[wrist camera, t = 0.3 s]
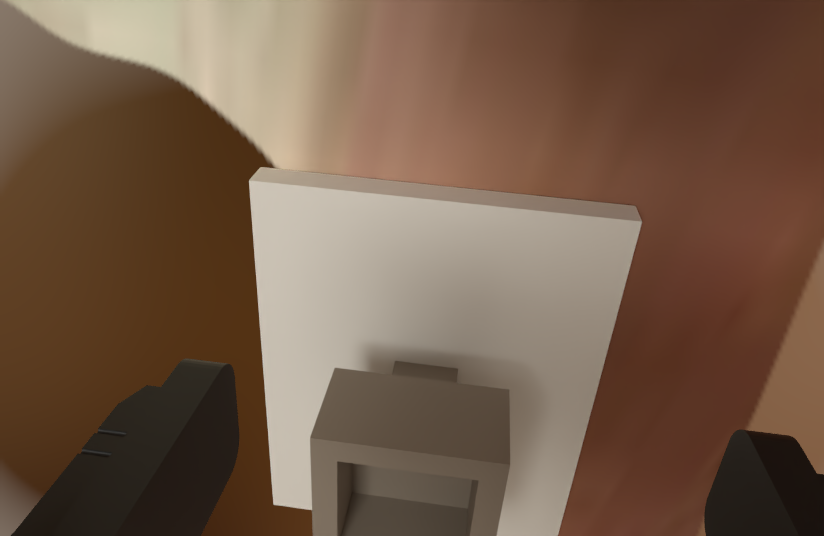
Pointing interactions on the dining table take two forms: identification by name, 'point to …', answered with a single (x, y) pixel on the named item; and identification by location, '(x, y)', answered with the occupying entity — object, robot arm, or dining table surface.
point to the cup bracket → (431, 349)
